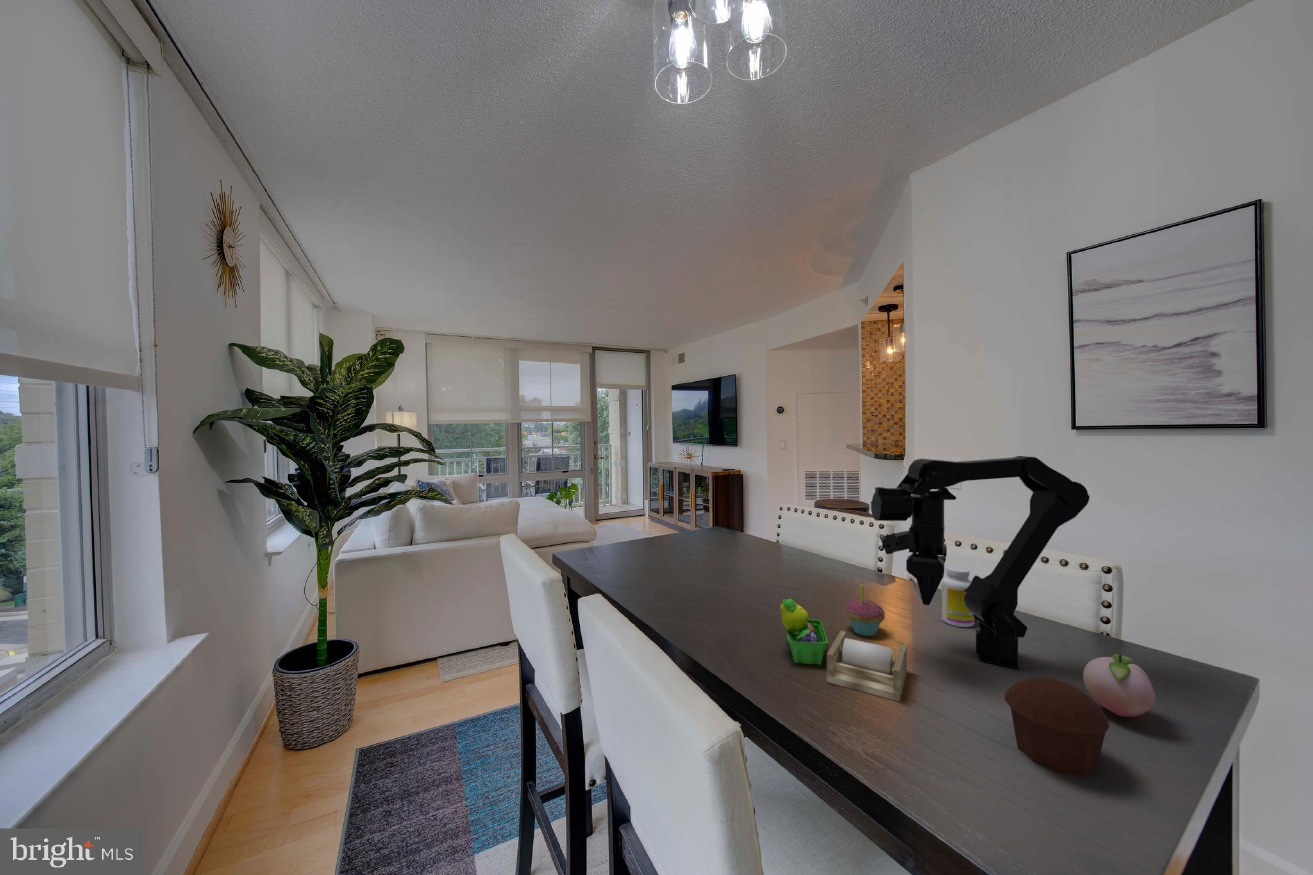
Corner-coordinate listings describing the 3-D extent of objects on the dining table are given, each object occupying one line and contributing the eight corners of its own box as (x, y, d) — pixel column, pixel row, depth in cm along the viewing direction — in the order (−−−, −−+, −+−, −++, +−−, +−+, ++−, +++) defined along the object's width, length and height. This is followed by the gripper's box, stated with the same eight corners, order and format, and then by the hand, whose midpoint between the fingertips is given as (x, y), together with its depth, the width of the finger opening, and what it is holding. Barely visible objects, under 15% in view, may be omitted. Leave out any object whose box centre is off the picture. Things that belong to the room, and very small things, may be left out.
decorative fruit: (1081, 694, 84) (1081, 637, 83) (1148, 711, 78) (1149, 650, 78) (1084, 719, 76) (1085, 657, 76) (1158, 740, 71) (1159, 673, 71)
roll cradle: (906, 671, 92) (906, 644, 92) (899, 701, 82) (899, 671, 82) (840, 655, 98) (840, 630, 98) (826, 681, 88) (826, 653, 88)
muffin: (1059, 728, 74) (1060, 664, 74) (1133, 780, 63) (1134, 705, 63) (985, 730, 74) (985, 666, 74) (1046, 784, 63) (1047, 708, 62)
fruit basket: (828, 669, 93) (828, 611, 93) (781, 664, 95) (781, 608, 95) (821, 643, 104) (820, 591, 104) (778, 639, 106) (778, 589, 106)
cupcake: (879, 643, 104) (879, 588, 104) (839, 633, 109) (839, 580, 109) (888, 629, 111) (888, 578, 110) (850, 621, 116) (850, 571, 116)
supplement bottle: (980, 628, 111) (981, 573, 111) (951, 628, 111) (952, 573, 111) (963, 617, 118) (963, 565, 118) (935, 617, 118) (935, 565, 118)
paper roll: (893, 669, 90) (893, 643, 90) (890, 682, 86) (889, 655, 86) (847, 658, 94) (847, 633, 94) (841, 670, 90) (841, 644, 90)
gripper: (889, 510, 109) (889, 579, 110) (877, 525, 94) (877, 604, 94) (946, 515, 103) (946, 587, 104) (943, 531, 88) (943, 616, 88)
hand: (927, 597), depth 98 cm, fingers open, 9 cm apart
